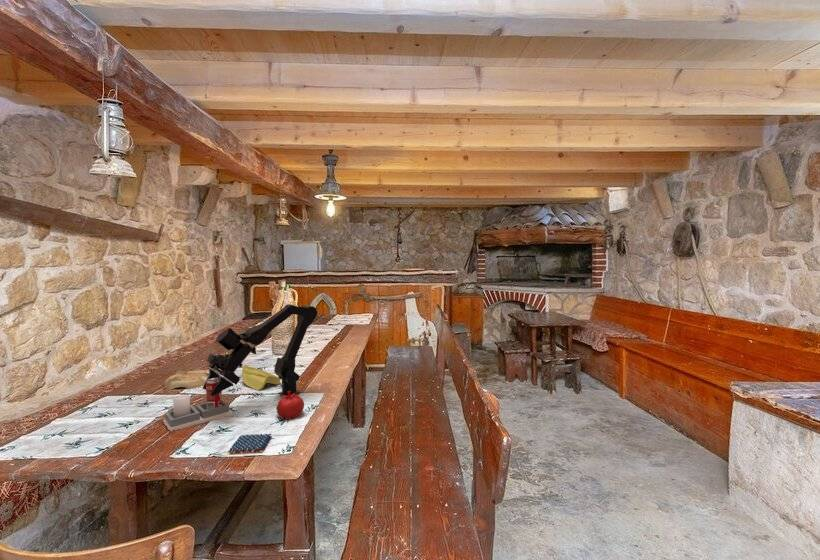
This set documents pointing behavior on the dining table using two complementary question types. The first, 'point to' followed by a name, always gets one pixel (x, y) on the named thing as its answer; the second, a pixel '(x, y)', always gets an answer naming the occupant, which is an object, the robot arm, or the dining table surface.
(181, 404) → the compartment tray
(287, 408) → the pomegranate
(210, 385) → the soda can
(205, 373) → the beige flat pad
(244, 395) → the dining table surface
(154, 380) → the dining table surface
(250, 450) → the woven mat
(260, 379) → the plastic component
